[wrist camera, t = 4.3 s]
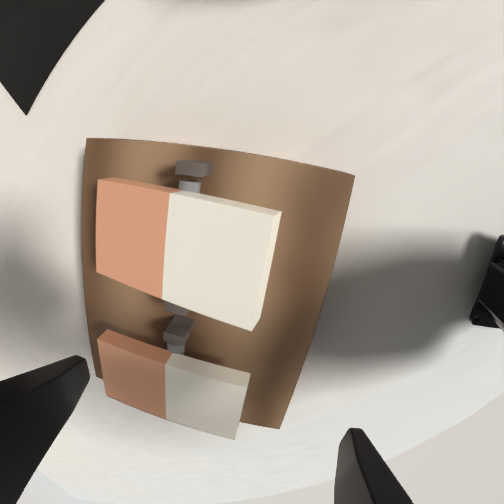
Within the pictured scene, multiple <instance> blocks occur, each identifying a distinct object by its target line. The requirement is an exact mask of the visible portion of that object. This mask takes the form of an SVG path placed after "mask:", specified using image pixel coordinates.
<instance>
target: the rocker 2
mask: <svg viewBox="0 0 504 504" xmlns="http://www.w3.org/2000/svg"><path fill="white" fill-rule="evenodd" d="M97 342H98V349H99V356H100V362H101V368H102V374H103V379H104V385H105V390H106V395H107V396H109V397H111V398H113V399H115V400H118V401H120V402H122V403H125V404H127V405H129V406H132V407H134V408H137V409H139V410H142V411H144V412H147V413H150V414H152V415H155V416H158V417H160V418H163V419H166V420H169V421H172V422H175V423H178V424H181V425H184V426H187V427H190V428H193V429H197V430H200V431H204V432H207V433H211V434H214V435H218V436H222V437H225V438H229V439H233V440H234V439H235V436H236V433H237V429H238V425H239V421H240V417H241V413H242V409H243V405H244V400H245V396H246V392H247V388H248V383H249V379H250V375H251V373H248V372H244V371H239V370H235V369H231V368H227V367H224V366H220V365H216V364H212V363H209V362H205V361H202V360H198V359H195V358H191V357H188V356H184V349H185V345H184V346H180V345H177V344H173V343H170V342H167V350H165V349H162V348H159V347H156V346H153V345H150V344H147V343H144V342H141V341H138V340H136V339H133V338H130V337H127V336H125V335H122V334H119V333H116V332H114V331H111V330H109V329H107V330H106V331H105V332H104V333H103V334H102V335H101V336H100V337H99V338H98V339H97Z"/></svg>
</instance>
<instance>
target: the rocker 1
mask: <svg viewBox="0 0 504 504" xmlns="http://www.w3.org/2000/svg"><path fill="white" fill-rule="evenodd" d="M200 186H201V182H199V181H195V180H186V179H182V180H179V188H178V189H175V188H170V187H164V186H159V185H154V184H148V183H143V182H137V181H132V180H126V179H120V178H114V177H113V178H105V179H98V185H97V203H96V272H98V273H100V274H102V275H105V276H107V277H109V278H111V279H114V280H116V281H119V282H121V283H123V284H126V285H128V286H130V287H133V288H135V289H138V290H140V291H143V292H145V293H148V294H150V295H153V296H155V297H158V298H160V299H163V300H165V301H168V302H170V303H173V304H176V305H178V306H181V307H184V308H186V309H189V310H192V311H194V312H197V313H200V314H203V315H205V316H208V317H211V318H214V319H217V320H220V321H222V322H225V323H228V324H231V325H234V326H237V327H240V328H243V329H246V330H249V331H252V330H253V328H254V327H255V325H256V324H257V322H258V321H259V319H260V316H261V312H262V307H263V302H264V297H265V292H266V288H267V283H268V278H269V273H270V268H271V263H272V258H273V253H274V248H275V243H276V238H277V233H278V228H279V223H280V218H281V213H282V212H281V211H277V210H273V209H269V208H264V207H260V206H256V205H251V204H247V203H242V202H238V201H233V200H228V199H224V198H219V197H214V196H210V195H205V194H200Z"/></svg>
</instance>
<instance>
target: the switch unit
mask: <svg viewBox="0 0 504 504" xmlns="http://www.w3.org/2000/svg"><path fill="white" fill-rule="evenodd" d="M113 177H114V178H120V179H126V180H132V181H137V182H143V183H148V184H154V185H159V186H164V187H170V188H175V189H178V188H179V180H182V179H186V180H195V181H199V182H201V186H200V194H205V195H210V196H214V197H219V198H224V199H228V200H233V201H238V202H242V203H247V204H251V205H256V206H260V207H264V208H269V209H273V210H277V211H281V212H282V213H281V218H280V223H279V228H278V233H277V238H276V243H275V248H274V253H273V258H272V263H271V268H270V273H269V278H268V283H267V288H266V292H265V297H264V302H263V307H262V312H261V316H260V319H259V321H258V322H257V324H256V325H255V327H254V328H253V330H252V331H249V330H246V329H243V328H240V327H237V326H234V325H231V324H228V323H225V322H222V321H220V320H217V319H214V318H211V317H208V316H205V315H203V314H200V313H197V312H194V311H192V310H189V309H186V308H184V307H181V306H178V305H176V304H173V303H170V302H168V301H165V300H163V299H160V298H158V297H155V296H153V295H150V294H148V293H145V292H143V291H140V290H138V289H135V288H133V287H130V286H128V285H126V284H123V283H121V282H119V281H116V280H114V279H111V278H109V277H107V276H105V275H102V274H100V273H98V272H96V203H97V185H98V179H105V178H113ZM354 178H355V176H354V175H351V174H348V173H345V172H341V171H337V170H333V169H328V168H324V167H319V166H315V165H310V164H305V163H300V162H295V161H290V160H285V159H280V158H274V157H269V156H263V155H257V154H251V153H245V152H239V151H232V150H225V149H218V148H211V147H203V146H195V145H186V144H177V143H167V142H156V141H144V140H130V139H112V138H87V140H86V149H85V160H84V172H83V189H82V264H83V281H84V294H85V305H86V314H87V322H88V330H89V337H90V344H91V350H92V356H93V362H94V368H95V373H96V377H99V378H101V379H103V374H102V368H101V362H100V356H99V349H98V342H97V339H98V338H99V337H100V336H101V335H102V334H103V333H104V332H105V331H106V330H107V329H109V330H111V331H114V332H116V333H119V334H122V335H125V336H127V337H130V338H133V339H136V340H138V341H141V342H144V343H147V344H150V345H153V346H156V347H159V348H162V349H165V350H167V342H170V343H173V344H177V345H180V346H184V345H185V349H184V356H188V357H191V358H195V359H198V360H202V361H205V362H209V363H212V364H216V365H220V366H224V367H227V368H231V369H235V370H239V371H244V372H248V373H251V375H250V379H249V383H248V388H247V392H246V396H245V400H244V405H243V409H242V413H241V417H240V421H239V422H243V423H248V424H253V425H258V426H263V427H269V428H275V429H280V426H281V424H282V421H283V418H284V416H285V413H286V411H287V408H288V405H289V403H290V400H291V397H292V395H293V392H294V389H295V387H296V384H297V381H298V378H299V375H300V373H301V370H302V367H303V364H304V361H305V358H306V355H307V352H308V349H309V346H310V343H311V340H312V337H313V334H314V331H315V327H316V324H317V321H318V318H319V315H320V311H321V308H322V305H323V301H324V298H325V294H326V291H327V288H328V284H329V280H330V277H331V273H332V270H333V266H334V262H335V258H336V255H337V251H338V247H339V243H340V239H341V235H342V231H343V227H344V223H345V219H346V214H347V210H348V206H349V201H350V197H351V192H352V187H353V183H354ZM103 380H104V379H103Z"/></svg>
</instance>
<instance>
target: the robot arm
mask: <svg viewBox="0 0 504 504" xmlns="http://www.w3.org/2000/svg"><path fill="white" fill-rule="evenodd" d="M503 241H504V235H501V236H500V237H499V238H498V240H497V243H496V247H495V250H494V253H493V256H492V259H491V262H490V265H489V268H488V271H487V274H486V277H485V279H484V282H483V285H482V287H481V290H480V292H479V295H478V297H477V300H476V302H475V305H474V307H473V309H472V312H471V314H470V317H469V320H470V322H471V323H472V324H473V325H478V326H485V327H493V328H500V329H502V330H503V331H504V245H503ZM476 316H477V317H476ZM475 317H476V318H475ZM89 379H90V374H89V369H88V365H87V361H86V359H84V358H82V357H80V356H78V355H74V356H71V357H69V358H66V359H63V360H60V361H57V362H55V363H52V364H49V365H46V366H43V367H40V368H37V369H35V370H32V371H29V372H26V373H23V374H20V375H17V376H14V377H11V378H8V379H5V380H2V381H0V504H16V502H17V501H18V499H19V498H20V496H21V494H22V492H23V491H24V488H25V487H26V485H27V483H28V482H29V480H30V479H31V477H32V475H33V473H34V472H35V470H36V469H37V467H38V465H39V464H40V462H41V461H42V459H43V457H44V456H45V454H46V453H47V451H48V449H49V448H50V446H51V445H52V443H53V442H54V440H55V438H56V437H57V435H58V434H59V432H60V431H61V429H62V428H63V426H64V425H65V423H66V422H67V420H68V419H69V417H70V416H71V414H72V412H73V411H74V409H75V407H76V405H77V403H78V401H79V399H80V397H81V395H82V393H83V391H84V389H85V388H86V386H87V384H88V382H89ZM334 504H414V503H412V500H411V499H410V497H409V496H408V495H407V493H406V492H405V490H404V489H403V487H402V486H401V484H400V483H399V482H398V480H397V479H396V477H395V476H394V475H393V473H392V472H391V470H390V469H389V468H388V466H387V465H386V463H385V461H384V460H383V459H382V457H381V456H380V454H379V453H378V451H377V450H376V448H375V447H374V446H373V444H372V443H371V441H370V440H369V438H368V437H367V435H366V434H365V432H364V431H363V430H362V429H360V428H349V429H348V431H347V432H346V434H345V436H344V437H343V439H342V440H341V442H340V445H339V451H338V460H337V469H336V477H335V486H334Z"/></svg>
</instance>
